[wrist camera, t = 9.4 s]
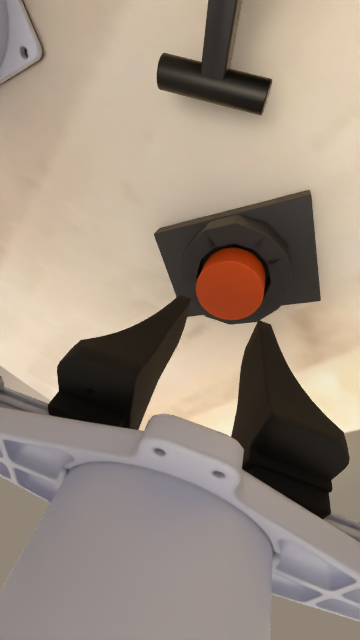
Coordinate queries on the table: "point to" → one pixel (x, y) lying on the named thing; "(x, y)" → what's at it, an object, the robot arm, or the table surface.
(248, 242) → the button box
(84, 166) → the table surface
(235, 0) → the lever
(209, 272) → the button
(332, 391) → the table surface
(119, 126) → the table surface
